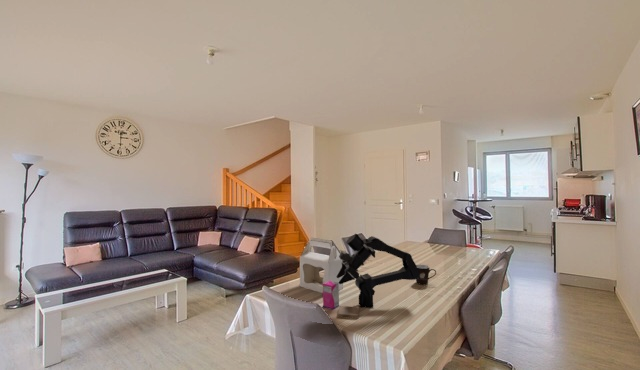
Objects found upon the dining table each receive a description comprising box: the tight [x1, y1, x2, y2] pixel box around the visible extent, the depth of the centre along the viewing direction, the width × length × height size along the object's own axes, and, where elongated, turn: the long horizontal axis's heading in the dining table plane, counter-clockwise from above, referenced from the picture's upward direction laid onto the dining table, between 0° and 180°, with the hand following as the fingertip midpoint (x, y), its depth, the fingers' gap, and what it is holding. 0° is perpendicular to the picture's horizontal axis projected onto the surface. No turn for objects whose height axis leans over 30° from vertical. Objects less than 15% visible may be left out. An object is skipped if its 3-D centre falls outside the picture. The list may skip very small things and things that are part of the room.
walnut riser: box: [337, 305, 360, 319], centre depth 137 cm, size 9×9×2 cm
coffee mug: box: [415, 264, 437, 286], centre depth 178 cm, size 12×9×10 cm
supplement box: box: [322, 281, 340, 311], centre depth 145 cm, size 6×6×12 cm
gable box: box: [299, 237, 344, 294], centre depth 172 cm, size 22×13×28 cm, turn 50°
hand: (338, 280), depth 145 cm, fingers open, 9 cm apart
